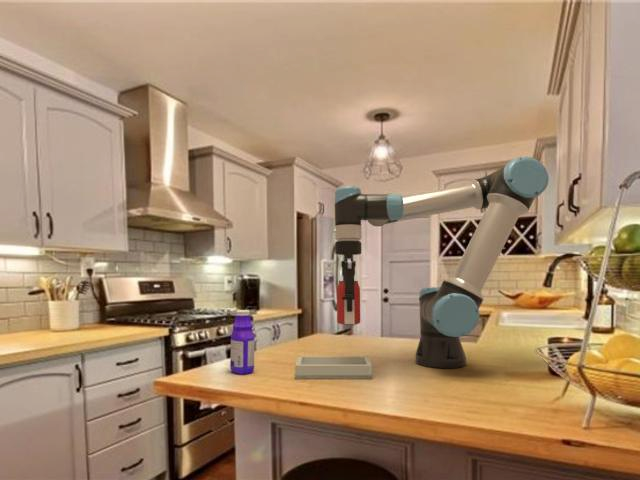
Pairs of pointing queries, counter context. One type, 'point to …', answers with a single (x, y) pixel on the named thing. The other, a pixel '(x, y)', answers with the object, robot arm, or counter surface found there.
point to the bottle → (242, 344)
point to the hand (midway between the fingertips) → (348, 322)
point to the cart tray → (333, 367)
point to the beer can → (341, 303)
